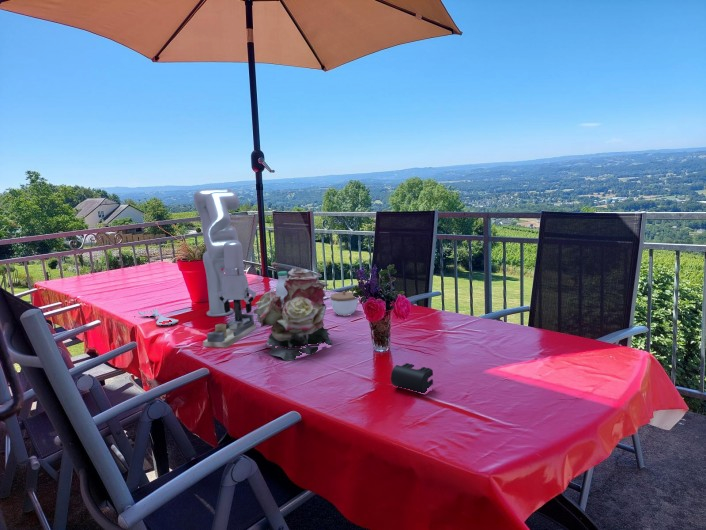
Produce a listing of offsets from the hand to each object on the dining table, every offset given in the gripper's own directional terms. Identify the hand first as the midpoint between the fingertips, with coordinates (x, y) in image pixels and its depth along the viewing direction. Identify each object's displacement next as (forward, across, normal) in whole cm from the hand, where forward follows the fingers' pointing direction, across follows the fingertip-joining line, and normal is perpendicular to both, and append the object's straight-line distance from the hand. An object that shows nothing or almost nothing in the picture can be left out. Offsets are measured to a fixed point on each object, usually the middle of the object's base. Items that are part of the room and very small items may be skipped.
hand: (238, 312), depth 190 cm
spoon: (+9, -48, +12) cm, 50 cm away
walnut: (+6, 0, -15) cm, 16 cm away
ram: (+6, 0, -1) cm, 6 cm away
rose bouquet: (+9, +33, -17) cm, 38 cm away
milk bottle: (+8, +8, +30) cm, 33 cm away
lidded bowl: (+8, +38, +30) cm, 49 cm away
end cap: (+9, +78, -46) cm, 91 cm away
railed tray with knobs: (+8, 0, -7) cm, 11 cm away
